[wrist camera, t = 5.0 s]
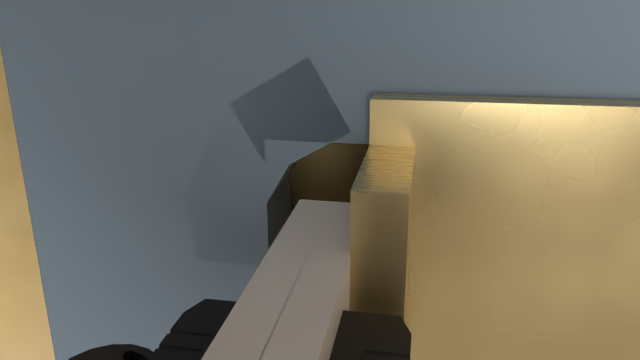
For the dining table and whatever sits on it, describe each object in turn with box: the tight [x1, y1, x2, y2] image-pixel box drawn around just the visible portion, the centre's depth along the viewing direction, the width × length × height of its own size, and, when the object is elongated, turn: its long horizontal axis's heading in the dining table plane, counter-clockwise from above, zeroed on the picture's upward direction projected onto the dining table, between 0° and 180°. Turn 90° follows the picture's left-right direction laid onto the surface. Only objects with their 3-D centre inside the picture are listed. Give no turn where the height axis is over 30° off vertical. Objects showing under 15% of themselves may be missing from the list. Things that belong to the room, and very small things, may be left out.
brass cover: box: [349, 92, 640, 360], centre depth 12 cm, size 7×7×4 cm
